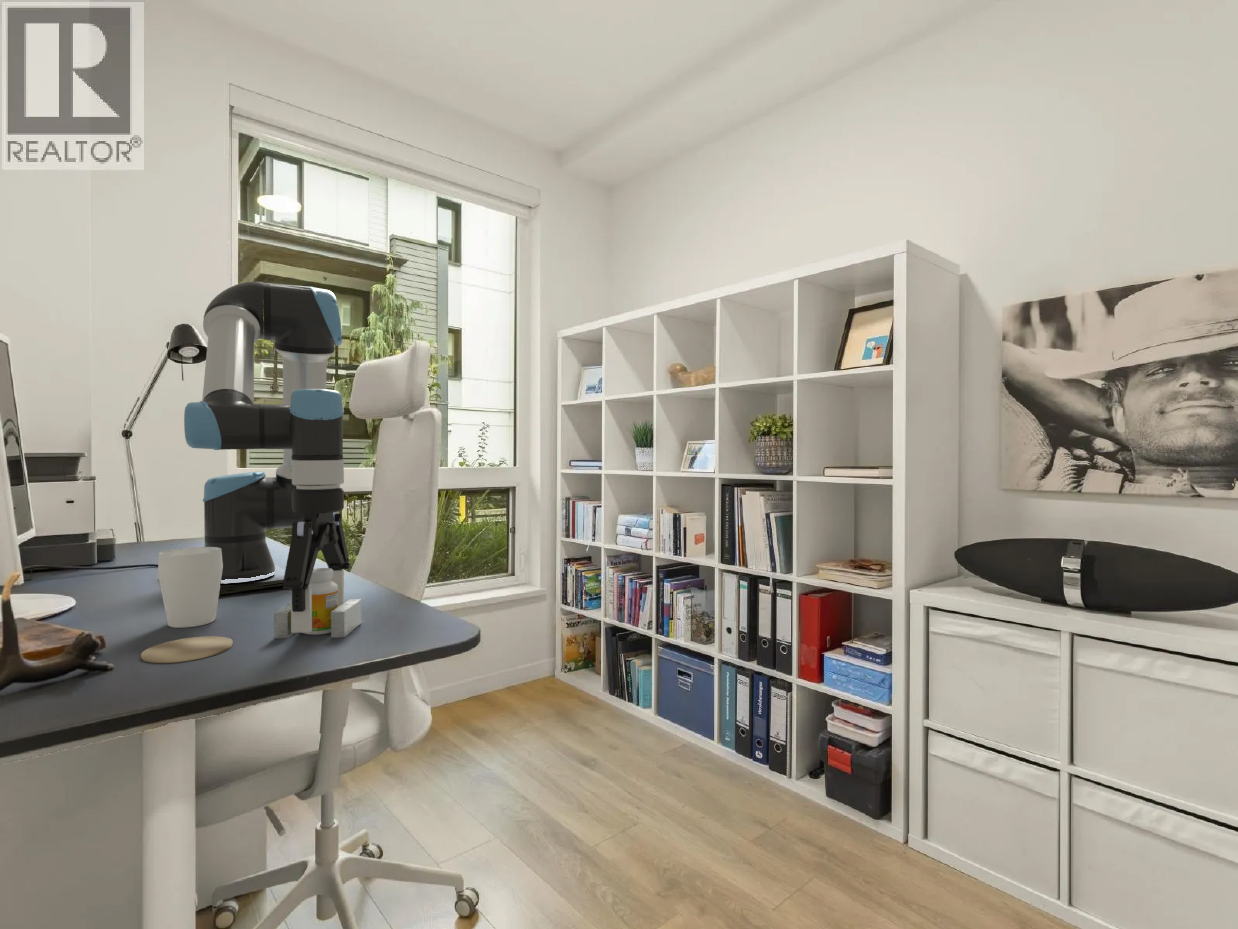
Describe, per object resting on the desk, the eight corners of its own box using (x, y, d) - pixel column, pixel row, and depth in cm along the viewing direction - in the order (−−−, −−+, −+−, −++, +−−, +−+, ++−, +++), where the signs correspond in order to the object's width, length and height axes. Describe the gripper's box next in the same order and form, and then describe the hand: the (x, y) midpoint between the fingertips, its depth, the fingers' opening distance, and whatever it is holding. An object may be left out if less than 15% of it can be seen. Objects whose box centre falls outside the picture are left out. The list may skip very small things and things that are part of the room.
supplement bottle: (293, 633, 102) (292, 572, 101) (319, 624, 107) (318, 566, 106) (320, 637, 100) (319, 574, 99) (345, 627, 105) (344, 568, 105)
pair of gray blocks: (296, 624, 107) (296, 600, 107) (361, 623, 108) (361, 599, 107) (274, 638, 99) (273, 612, 99) (344, 637, 100) (344, 611, 99)
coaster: (172, 639, 98) (172, 636, 98) (247, 638, 99) (247, 635, 99) (121, 664, 87) (121, 661, 87) (206, 662, 88) (206, 659, 88)
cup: (192, 632, 102) (190, 556, 102) (144, 628, 104) (143, 554, 104) (236, 617, 111) (235, 547, 111) (192, 614, 113) (190, 545, 113)
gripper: (324, 482, 115) (325, 600, 115) (254, 493, 90) (257, 644, 90) (367, 482, 115) (368, 600, 116) (310, 492, 90) (312, 643, 91)
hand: (319, 619), depth 103 cm, fingers open, 13 cm apart
